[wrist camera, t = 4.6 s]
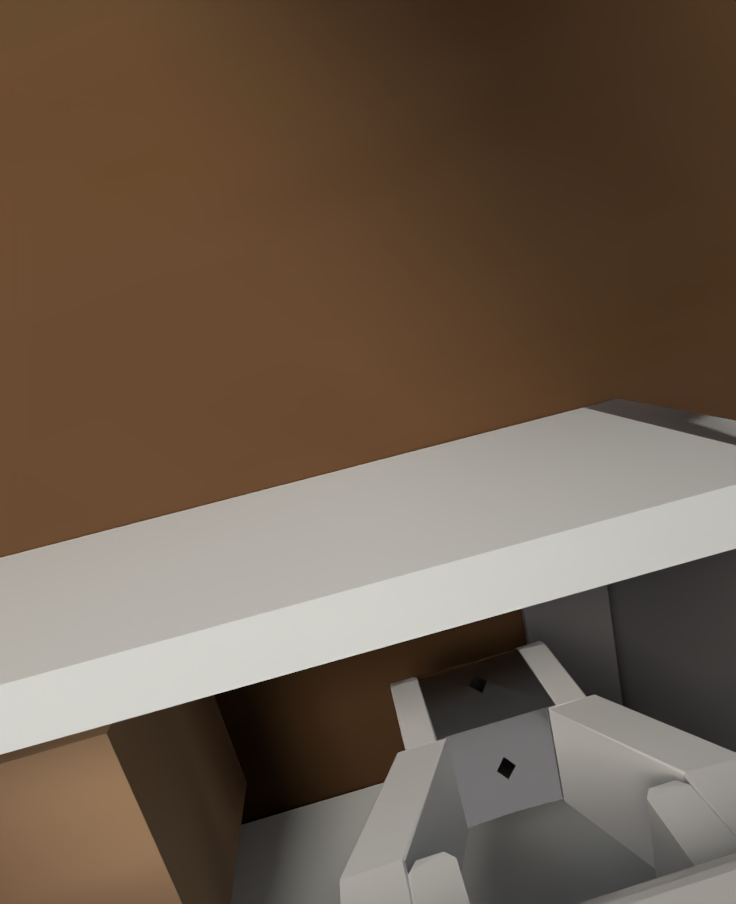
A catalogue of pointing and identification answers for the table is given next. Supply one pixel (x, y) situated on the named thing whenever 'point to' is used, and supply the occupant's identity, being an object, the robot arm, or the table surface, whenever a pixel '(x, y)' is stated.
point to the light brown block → (124, 813)
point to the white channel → (408, 614)
